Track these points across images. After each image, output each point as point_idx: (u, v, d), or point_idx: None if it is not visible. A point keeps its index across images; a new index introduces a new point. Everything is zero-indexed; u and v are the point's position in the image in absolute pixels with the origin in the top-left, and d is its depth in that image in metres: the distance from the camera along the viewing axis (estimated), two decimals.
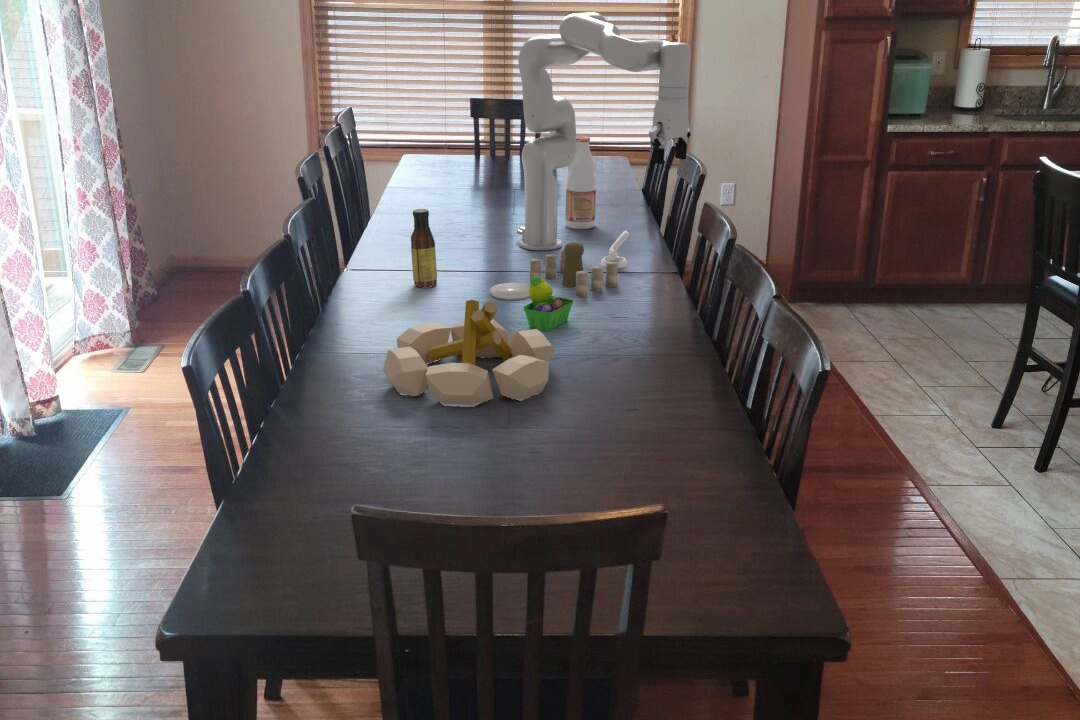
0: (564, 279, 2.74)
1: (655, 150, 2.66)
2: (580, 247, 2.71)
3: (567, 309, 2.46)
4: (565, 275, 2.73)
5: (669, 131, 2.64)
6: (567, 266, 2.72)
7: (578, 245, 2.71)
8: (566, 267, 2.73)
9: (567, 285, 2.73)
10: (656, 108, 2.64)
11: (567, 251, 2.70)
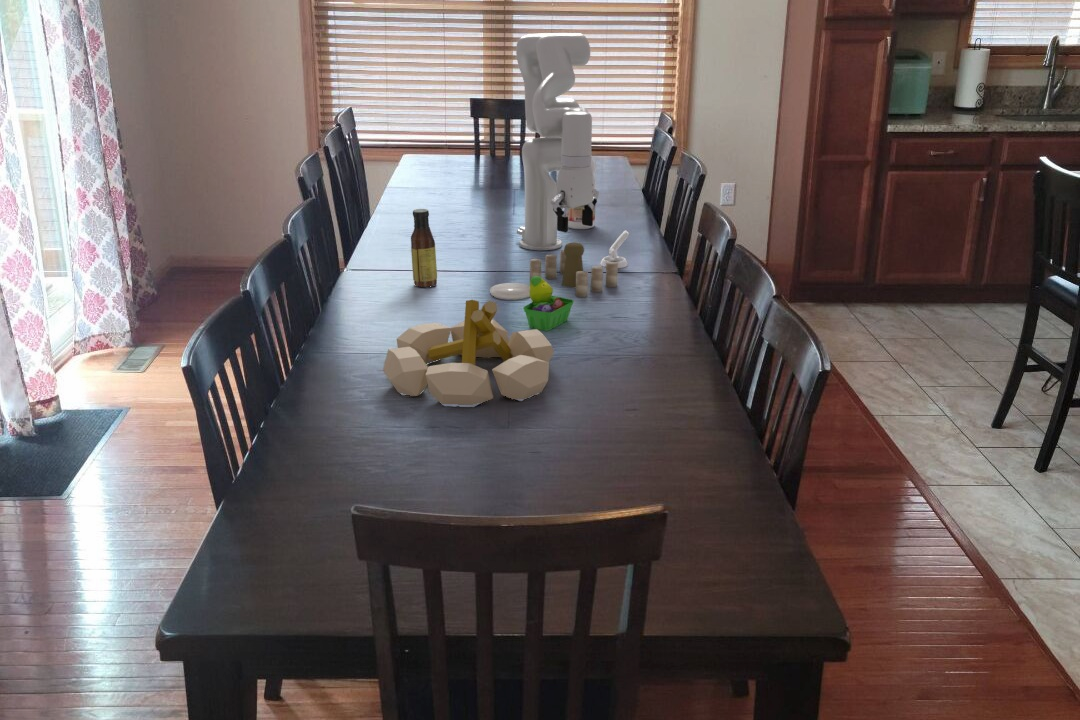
0: (564, 279, 2.74)
1: (559, 218, 2.65)
2: (580, 247, 2.71)
3: (567, 309, 2.46)
4: (565, 275, 2.73)
5: (572, 199, 2.63)
6: (567, 266, 2.72)
7: (578, 245, 2.71)
8: (566, 267, 2.73)
9: (567, 285, 2.73)
10: (559, 177, 2.63)
11: (567, 251, 2.70)
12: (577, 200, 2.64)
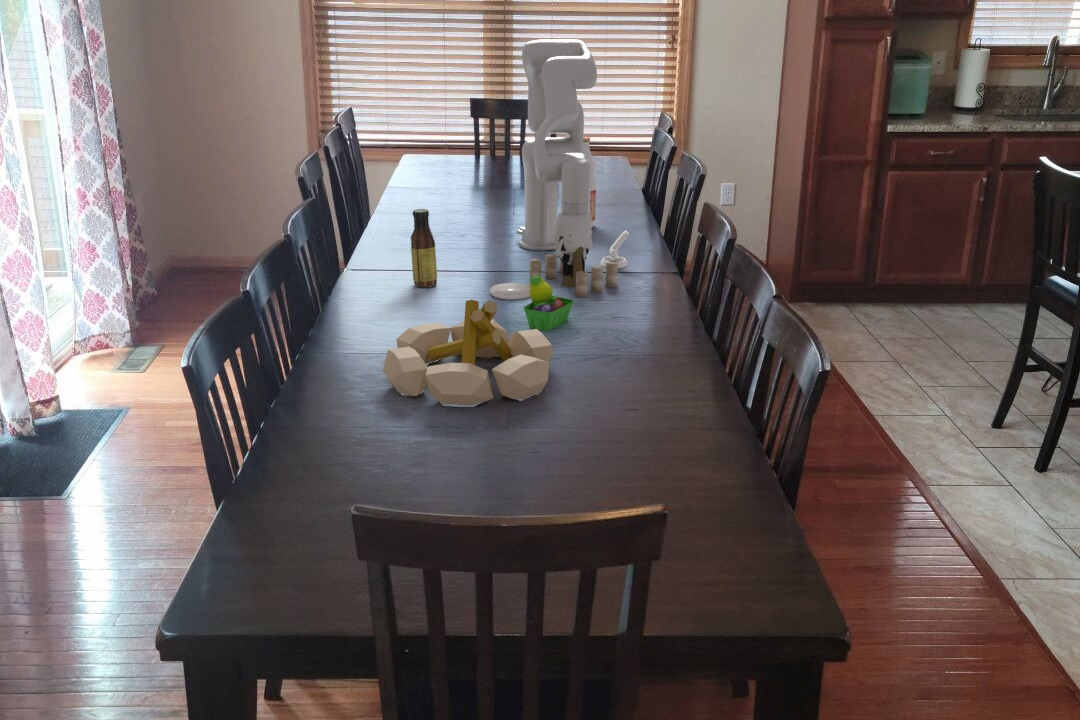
0: (564, 279, 2.74)
1: (564, 265, 2.72)
2: (580, 247, 2.70)
3: (567, 309, 2.46)
4: None
5: (571, 245, 2.68)
6: None
7: None
8: None
9: (567, 285, 2.73)
10: (558, 222, 2.67)
11: None
12: (576, 245, 2.69)
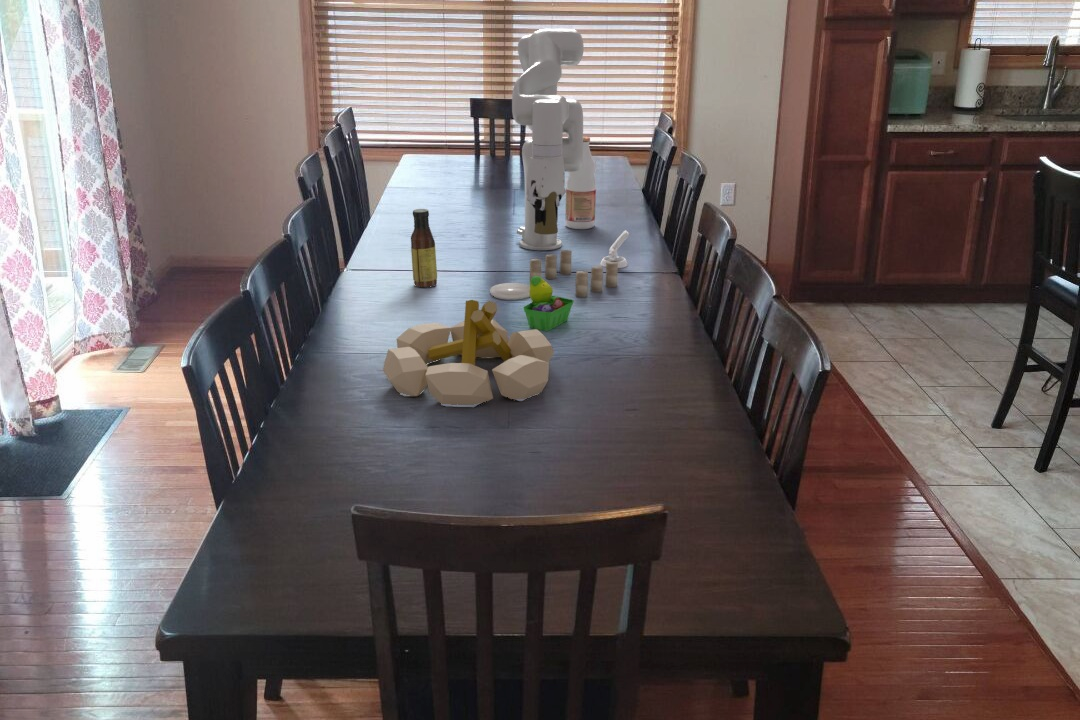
0: (537, 226, 2.64)
1: (536, 212, 2.62)
2: (553, 192, 2.61)
3: (567, 309, 2.46)
4: None
5: (543, 189, 2.58)
6: None
7: None
8: None
9: (540, 232, 2.64)
10: (529, 166, 2.58)
11: None
12: (548, 190, 2.60)
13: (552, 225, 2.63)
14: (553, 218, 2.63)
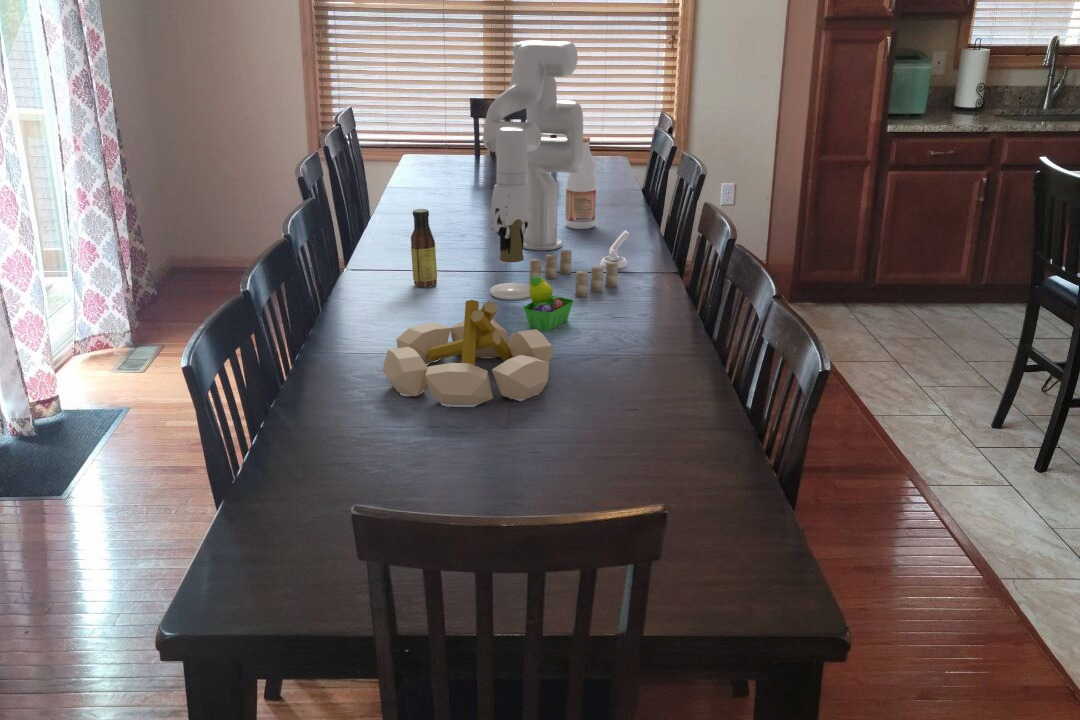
0: (502, 254, 2.62)
1: (501, 239, 2.61)
2: (518, 220, 2.59)
3: (567, 309, 2.46)
4: None
5: (507, 217, 2.56)
6: None
7: None
8: None
9: (505, 260, 2.62)
10: (494, 194, 2.56)
11: None
12: (513, 218, 2.58)
13: (517, 252, 2.61)
14: (518, 246, 2.61)
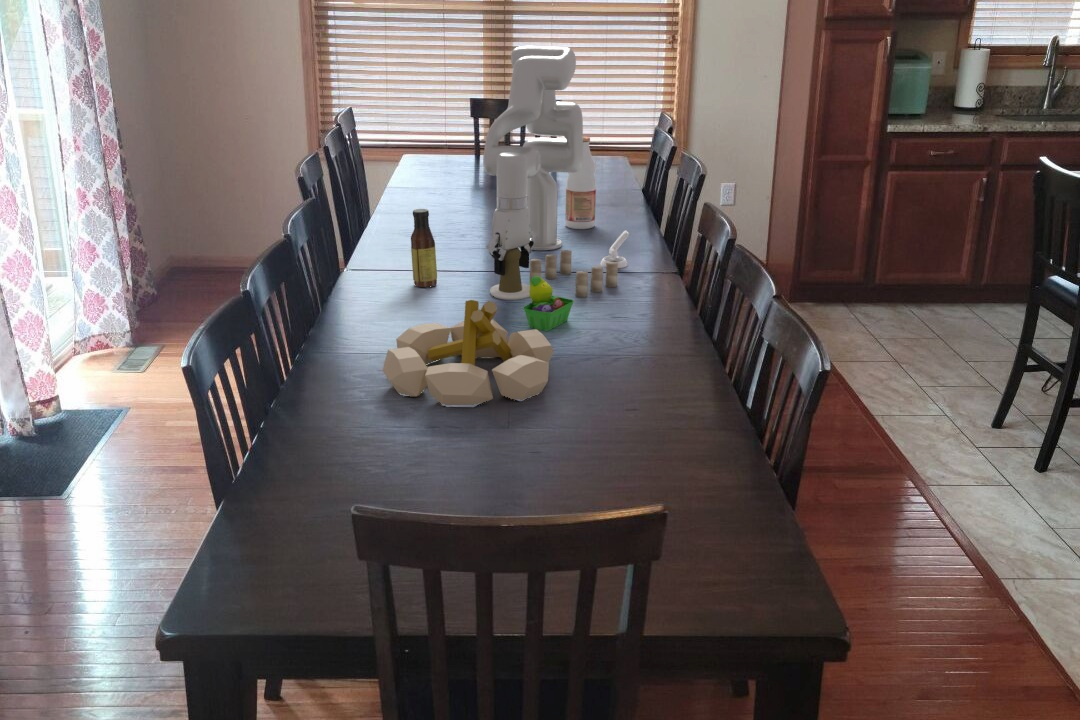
0: (500, 284, 2.65)
1: (495, 261, 2.61)
2: (516, 251, 2.62)
3: (567, 309, 2.46)
4: (501, 280, 2.65)
5: (507, 242, 2.59)
6: None
7: (514, 249, 2.62)
8: None
9: (503, 290, 2.65)
10: (494, 218, 2.58)
11: None
12: (513, 242, 2.60)
13: (515, 283, 2.64)
14: (517, 276, 2.64)
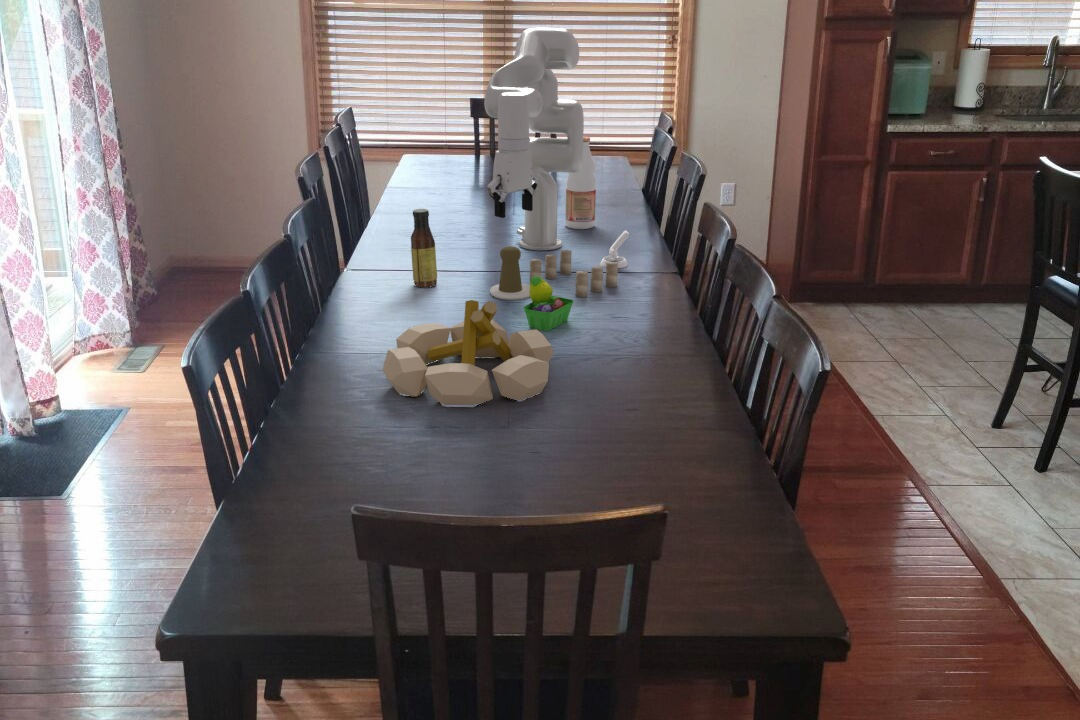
0: (500, 284, 2.65)
1: (496, 203, 2.56)
2: (516, 251, 2.62)
3: (567, 309, 2.46)
4: (501, 280, 2.65)
5: (509, 184, 2.54)
6: (503, 270, 2.64)
7: (514, 249, 2.62)
8: (502, 272, 2.64)
9: (503, 290, 2.65)
10: (495, 160, 2.54)
11: (503, 255, 2.62)
12: (515, 184, 2.56)
13: (515, 283, 2.64)
14: (517, 276, 2.64)
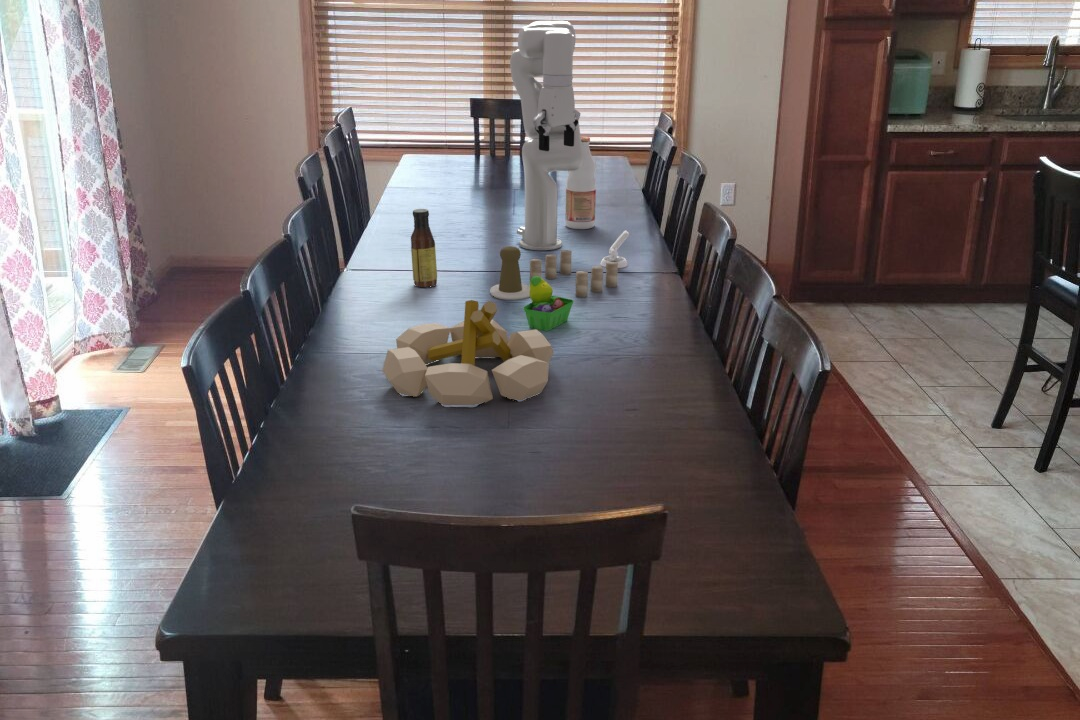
0: (500, 284, 2.65)
1: (540, 137, 2.70)
2: (516, 251, 2.62)
3: (567, 309, 2.46)
4: (501, 280, 2.65)
5: (553, 118, 2.68)
6: (503, 270, 2.64)
7: (514, 249, 2.62)
8: (502, 272, 2.64)
9: (503, 290, 2.65)
10: (540, 96, 2.68)
11: (503, 255, 2.62)
12: (558, 119, 2.70)
13: (515, 283, 2.64)
14: (517, 276, 2.64)
